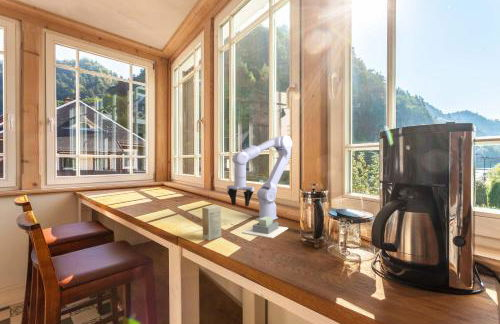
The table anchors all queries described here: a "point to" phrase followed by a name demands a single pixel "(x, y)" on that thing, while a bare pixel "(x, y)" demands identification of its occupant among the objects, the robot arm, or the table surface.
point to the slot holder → (266, 230)
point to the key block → (266, 221)
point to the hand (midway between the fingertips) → (240, 205)
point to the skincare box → (211, 222)
